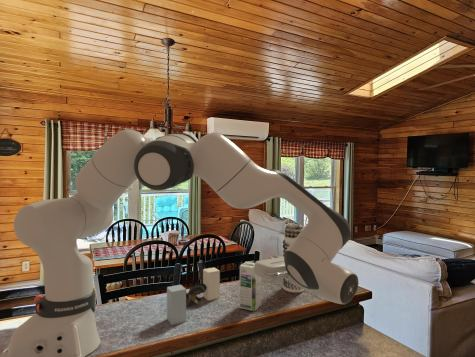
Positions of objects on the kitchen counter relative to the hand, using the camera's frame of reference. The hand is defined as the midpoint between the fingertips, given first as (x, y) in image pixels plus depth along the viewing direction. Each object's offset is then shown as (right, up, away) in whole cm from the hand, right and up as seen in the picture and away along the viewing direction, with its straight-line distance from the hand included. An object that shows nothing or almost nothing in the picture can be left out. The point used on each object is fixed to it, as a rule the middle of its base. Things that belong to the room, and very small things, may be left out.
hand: (272, 258), depth 98 cm
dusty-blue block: (-29, -19, +1) cm, 35 cm away
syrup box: (-6, -19, +11) cm, 23 cm away
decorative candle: (+12, -19, +28) cm, 36 cm away
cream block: (-20, -19, +19) cm, 34 cm away
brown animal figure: (-26, -19, +14) cm, 35 cm away
